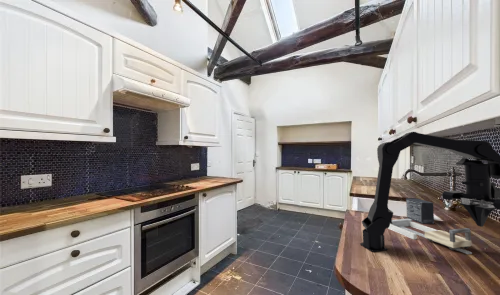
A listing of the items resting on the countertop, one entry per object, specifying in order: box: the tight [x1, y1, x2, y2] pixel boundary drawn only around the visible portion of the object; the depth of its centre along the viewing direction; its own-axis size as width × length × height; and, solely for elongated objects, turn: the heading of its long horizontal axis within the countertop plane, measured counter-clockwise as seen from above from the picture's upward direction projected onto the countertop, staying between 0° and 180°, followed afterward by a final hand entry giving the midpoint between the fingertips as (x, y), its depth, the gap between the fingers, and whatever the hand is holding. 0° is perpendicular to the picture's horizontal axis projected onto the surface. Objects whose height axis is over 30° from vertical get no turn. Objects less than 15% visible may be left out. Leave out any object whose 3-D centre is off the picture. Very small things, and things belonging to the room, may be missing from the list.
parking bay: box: [387, 218, 473, 255], centre depth 85 cm, size 14×29×3 cm, turn 9°
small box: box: [405, 197, 435, 225], centre depth 106 cm, size 11×6×10 cm, turn 179°
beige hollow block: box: [423, 227, 473, 251], centre depth 78 cm, size 8×10×7 cm
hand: (480, 226), depth 68 cm, fingers closed
